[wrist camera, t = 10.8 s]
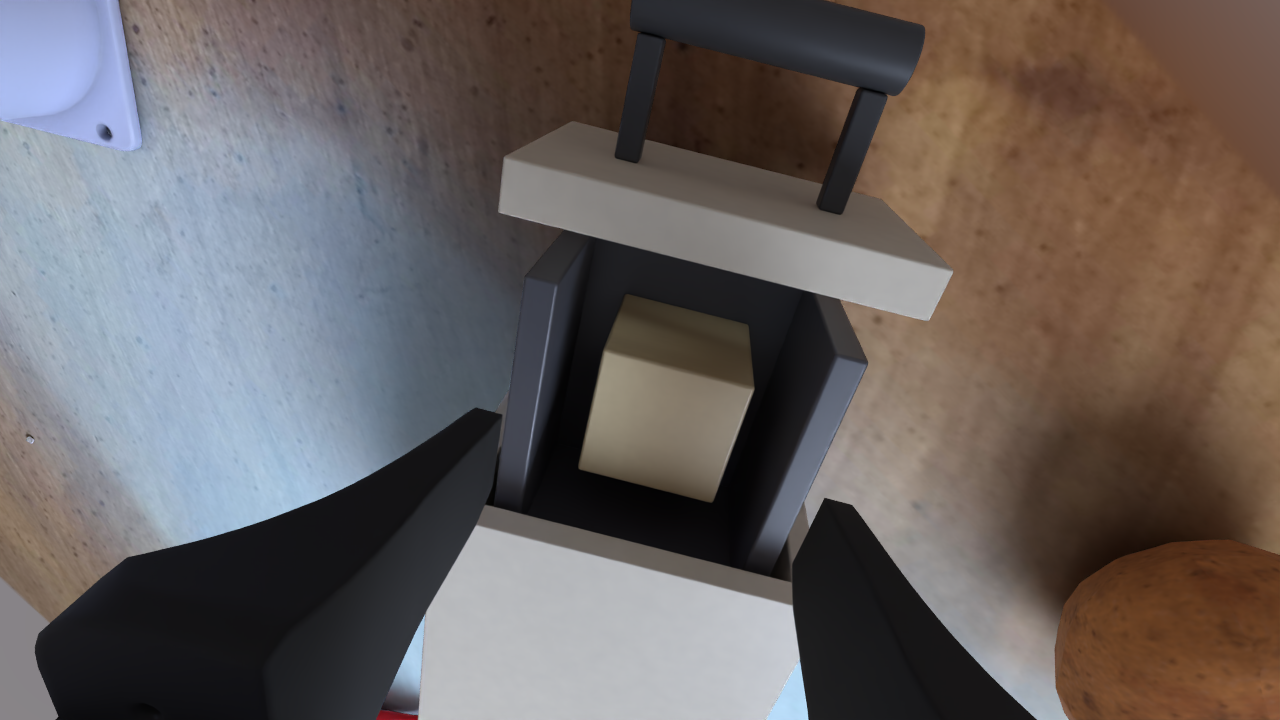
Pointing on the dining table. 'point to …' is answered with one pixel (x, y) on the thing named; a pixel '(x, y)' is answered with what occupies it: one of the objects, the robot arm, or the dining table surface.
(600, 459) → the block
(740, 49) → the drawer
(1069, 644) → the potato
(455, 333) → the dining table surface
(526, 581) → the cabinet
